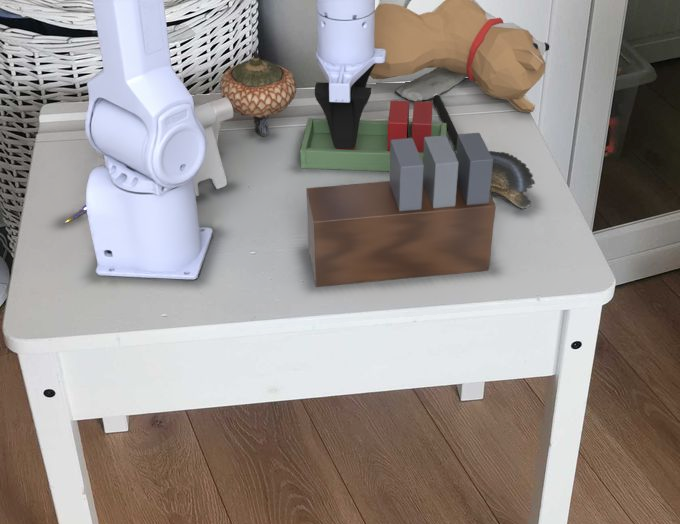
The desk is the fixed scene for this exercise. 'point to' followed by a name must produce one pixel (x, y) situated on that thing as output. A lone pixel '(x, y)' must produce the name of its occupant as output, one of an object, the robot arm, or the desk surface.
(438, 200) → the grey books
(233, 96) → the acorn
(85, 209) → the pen
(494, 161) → the eagle figurine
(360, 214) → the wood grain box
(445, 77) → the stone tool
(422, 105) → the rack books
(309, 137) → the green book tray
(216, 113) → the tablet stand
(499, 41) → the toy
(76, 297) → the desk surface
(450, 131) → the pen
